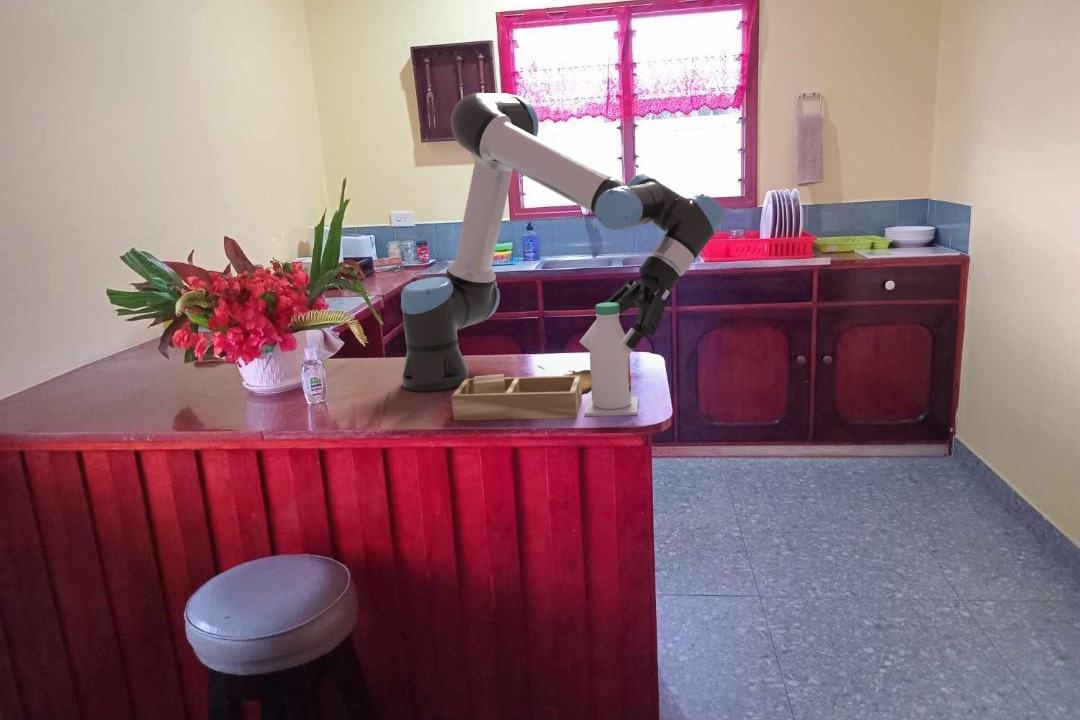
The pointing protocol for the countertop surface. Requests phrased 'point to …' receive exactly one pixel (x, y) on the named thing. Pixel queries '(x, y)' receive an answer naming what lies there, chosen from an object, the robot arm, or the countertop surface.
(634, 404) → the coaster
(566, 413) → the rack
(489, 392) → the offcut top
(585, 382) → the parchment
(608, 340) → the milk bottle
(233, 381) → the countertop surface
